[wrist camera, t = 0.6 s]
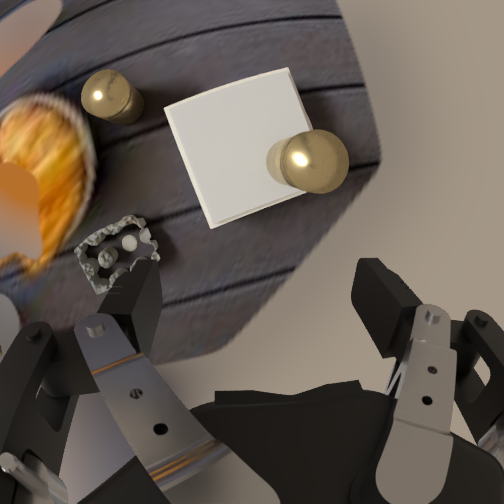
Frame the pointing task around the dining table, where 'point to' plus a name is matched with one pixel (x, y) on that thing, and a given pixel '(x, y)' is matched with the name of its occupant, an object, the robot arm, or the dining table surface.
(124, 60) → the dining table surface
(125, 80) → the disc
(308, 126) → the scale
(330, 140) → the cylinder
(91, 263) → the grey piece
